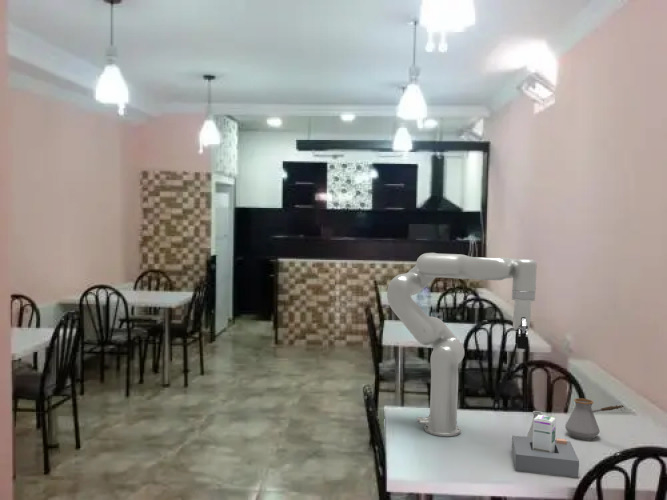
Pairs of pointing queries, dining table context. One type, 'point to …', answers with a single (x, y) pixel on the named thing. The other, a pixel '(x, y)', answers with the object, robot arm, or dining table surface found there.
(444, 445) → the dining table surface
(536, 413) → the flask
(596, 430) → the coffee pot
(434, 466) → the dining table surface
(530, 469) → the socket block
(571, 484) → the dining table surface
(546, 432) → the syrup box
